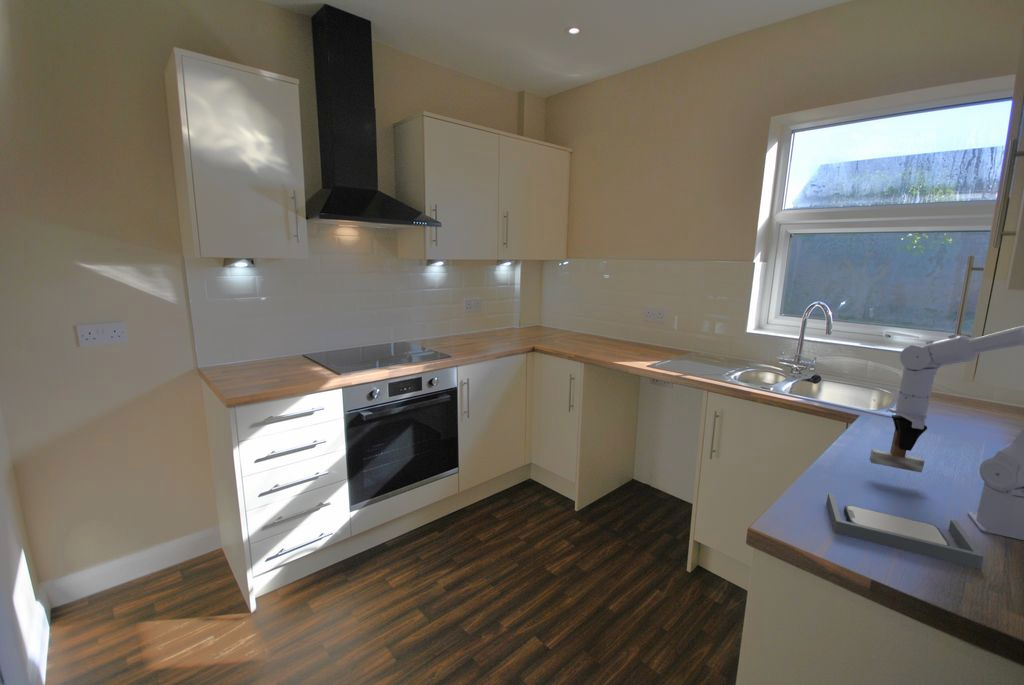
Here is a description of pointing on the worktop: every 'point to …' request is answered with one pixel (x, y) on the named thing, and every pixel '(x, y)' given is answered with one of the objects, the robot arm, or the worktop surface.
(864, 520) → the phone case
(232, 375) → the worktop surface
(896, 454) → the scraper
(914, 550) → the dock
